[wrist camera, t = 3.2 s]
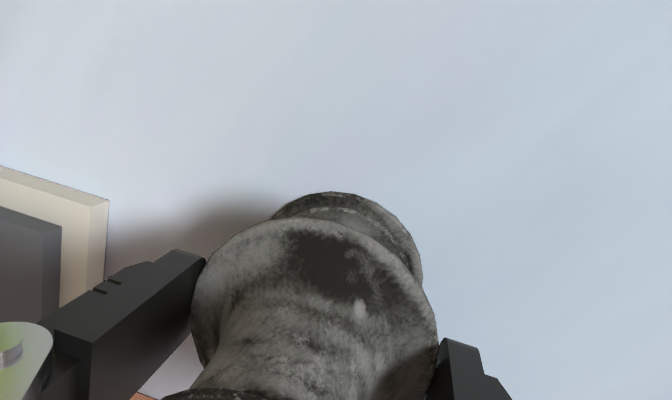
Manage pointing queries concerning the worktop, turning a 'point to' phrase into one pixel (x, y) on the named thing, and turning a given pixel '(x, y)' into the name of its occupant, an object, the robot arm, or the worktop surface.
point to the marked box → (140, 397)
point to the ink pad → (47, 245)
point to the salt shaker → (315, 308)
